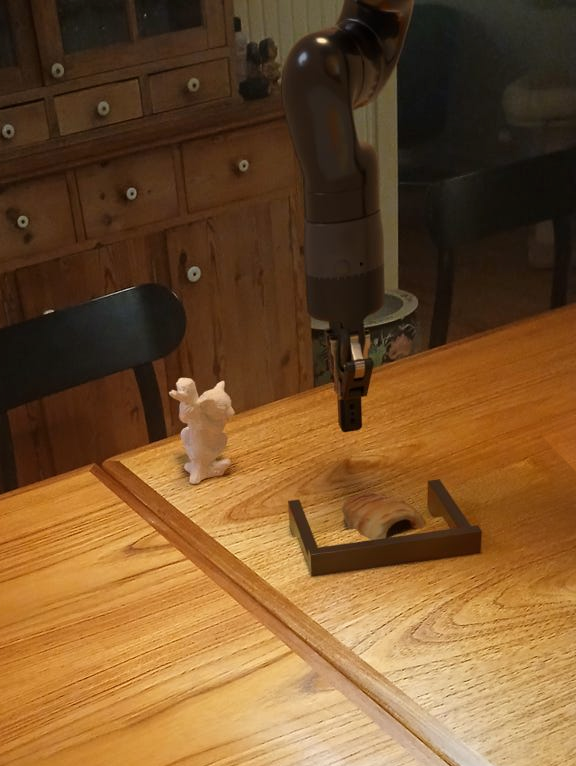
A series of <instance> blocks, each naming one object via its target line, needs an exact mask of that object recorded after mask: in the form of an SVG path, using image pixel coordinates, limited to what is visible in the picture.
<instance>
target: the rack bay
mask: <svg viewBox="0 0 576 766" xmlns="http://www.w3.org/2000/svg"><path fill="white" fill-rule="evenodd" d="M426 507H427V509H428V511H429V512H430V513H431V515H432V517H433V518H434V519H436V518H441V517H442V518H443V519H444V521H445V523H446V524H447V526H448V527H449V528H447V529H440V530H433V531H425V532H418V533H412V534H405V535H397V536H390V537H388V538H382V539H375V540H371V539H367V540H361V541H355V542H348V543H339V544H334V545H333V544H332V545H326V546H318V544H317V541H316V539H315V536H314V534H313V531H312V529H311V526H310V523H309V520H308V519H307V518H308V517H307V516H306V513H305V511H304V507H303V506H302V503H301V500H300V499H292V500H288V501H287V510H288V527H289V529H290V532H291V534H292V537H293V538H297V540H298V544H299V546H300V548H301V549H300V550H301V551H302V555H303V557H304V560H305V562H306V566H307V568H308V571H309V574H310V577H319V576H327V575H333V574H334V575H335V574H341V573H347V572H348V573H349V572H355V571H356V572H357V571H363V570H368V569H377V568H384V567H391V566H398V565H407V564H414V563H420V562H421V563H422V562H428V561H435V560H443V559H448V558H450V559H451V558H456V557H463V556H464V557H465V556H471V555H478V554H481V552H482V551H481V549H482V538H483V537H482V536H483V530H482V529H481V528H480V526H479V525H478V524H475V525H472V524H471V523H470V522H469V521H468V519H467V517H466V516H465V514H464V513H463V512H462V510H461V508H460V507H459V506H458V504H457V502H456V501H455V500H454V499H453V497H452V496H451V494H450V492H449V491H448V490H447V488H446V487H445V485H444V483H443V482H442V481H441V479H440V478H435V479H429V480H427V495H426Z"/></svg>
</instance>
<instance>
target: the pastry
mask: <svg viewBox="0 0 576 766" xmlns="http://www.w3.org/2000/svg"><path fill="white" fill-rule="evenodd" d="M341 512H342V514H343V521H345V523H346V526H347V528H348V531H349V530H350V531H351V530H356V531H357V532H358V533H359V534H360V535H361V536H363V537H364V538H367V539H368V540H375V539H382V538H389V537H393V536H394V535H397V534H399V533H401V532H403V531H404V530H405V529H407V528H408V527H409V528H411V529H422V528H424V527H425V526H426V525H427V524H426V523H427V522H426V520H424V517H423V515H422V514H421V513H420V512H419V511H418V510H417V509H416V508H414V507H413V506H412V505H410V504H409V503H407V502H406V500H404V499H403V498H400V497H399V498H398V497H394V498H393V497H390V496H387V495H386V494H382V493H379V494H378V493H366V494H363V493H362V494H355V495H352V496H350V497H348V498H347V499H346V500H345V502H344V503H343V505H342V508H341Z"/></svg>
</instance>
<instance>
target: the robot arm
mask: <svg viewBox="0 0 576 766" xmlns="http://www.w3.org/2000/svg"><path fill="white" fill-rule="evenodd" d="M414 4H415V0H343V3H342V7H341V10H340V13H339V15H338V18H337V19H336V21H335V23H334V25H332V26H328V27H325V28H321V29H318V30H315V31H312V32H309V33H307V34H305V35H304V36H301V38H299V39H298V40H297V41H295V43H294V44H293V45H292V47H291V48H290V50H288V51H289V52H288V53H287V55H286V58H285V60H284V62H283V63H284V64H283V68H282V73H281V80H280V98H281V104H282V110H283V115H284V119H285V122H286V126H287V129H288V133H289V135H290V140H291V143H292V147H293V150H294V154H295V157H296V159H297V162H298V164H299V167H300V172H301V176H302V197H303V198H302V199H303V211H304V213H303V215H304V228H303V229H304V230H303V233H304V234H303V260H304V261H303V264H304V278H305V280H304V281H305V292H306V293H305V295H306V296H305V297H306V310H307V313H308V315H309V316H310V318H312V319H313V320H316V321H321V322H326V323H327V322H328V327H327V328H324V329H323V332H322V333H323V334H322V335H323V339H324V344H325V348H326V353H327V364H328V370H329V371H330V374H329V375H330V376H329V377H330V381H331V383H332V384H334V385H333V391H334V393H335V395H336V396H337V398H336V399H337V401H336V402H337V420H338V423H337V424H338V426H339V429H340V430H341V432H343V433H350V432H356V431H359V430H361V429H362V427H363V414H362V413H363V412H362V407H363V406H362V398H363V397H364V398H365V397H367V396H368V393H369V388H370V384H371V379H372V374H373V369H374V365H375V363H374V360H373V359H372V357H369V350H370V348H371V332H370V330H369V329H366V328H365V323H364V322H365V321H364V320H365V319H367V318H368V317H369V316H371V315H375V314H376V313H378V312H379V311H380V310H381V309H382V308H383V307H384V305H385V301H386V299H385V298H386V297H385V296H386V295H385V294H386V293H385V240H384V239H385V238H384V236H385V235H384V228H383V221H382V212H381V179H380V177H381V173H380V172H381V171H380V170H381V169H380V157H379V154H378V151H377V149H376V147H375V146H374V145H372V144H371V143H369V142H367V141H362V140H359V137H358V132H357V128H356V123H355V116H354V111H356V110H360V109H361V108H363V107H365V106H367V105H369V104H370V103H372V102H373V101H374V100H375V99H376V98H377V97H379V95H380V94H381V93H382V91H383V90H384V88H385V87H386V86H387V84H388V82H389V81H390V79H391V77H392V75H393V73H394V71H395V69H396V67H397V65H398V62H399V59H400V56H401V54H402V50H403V47H404V44H405V40H406V36H407V33H408V29H409V25H410V23H411V20H412V19H411V18H412V15H413V10H414ZM365 329H366V330H365Z"/></svg>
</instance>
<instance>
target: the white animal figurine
mask: <svg viewBox="0 0 576 766" xmlns="http://www.w3.org/2000/svg"><path fill="white" fill-rule="evenodd" d="M225 384H226V383H225V380H222V381H219V382H217V384H216V385H215V386H214V387H213V388H212V389H209V390H208V389H207V390H206V391H204V392H203V393H202V394H201V395H200V396H199V393H198V390H197V386H196V382H195V381H194V380H193V379H192V378H190V377H189V378H188V377H180V378H178V380H177V381H176V383H175V386H176V390H174V389H171V391H169V392H168V395H169V396H170V398H171V397H172V398H173V399H174V400H176V401H179V402H180V403H179V414H178V419H179V420H180V422H181V423H183V424H187V426H186V427H184V428H183V429H182V430H181V431H180V439H181V442H182V445H183V449H184V451H185V452H186V454H187V457H188V458H189V460H190V461H187V462H185V464H184V465H183V467H184V471H186V472H187V473H189V484H191V485H197V484H200V482H201V481H202V480H205V479H209V478H214V477H221V476H223V475H224V474H225V471H226V470H227V469H228V468H229V467H230V466H231V464H232V462H231V460H230V458H228V457H227V458H223V459H221V460H218V459H217V458H218V457H219V456H220V455H221V454H222V453H223V452H224V450H225V449H226V447H227V444H228V440H229V437H228V435H227V433H225V432H224V430H225V429H226V428H225V427H226V420H231V419H232V418H233V417H234V416H235V414H236V412H235V410H234V409H233V407H232V400H231V397H230V396H229V394H228V393H227V392H226V391H225V387H226V386H225Z"/></svg>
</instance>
